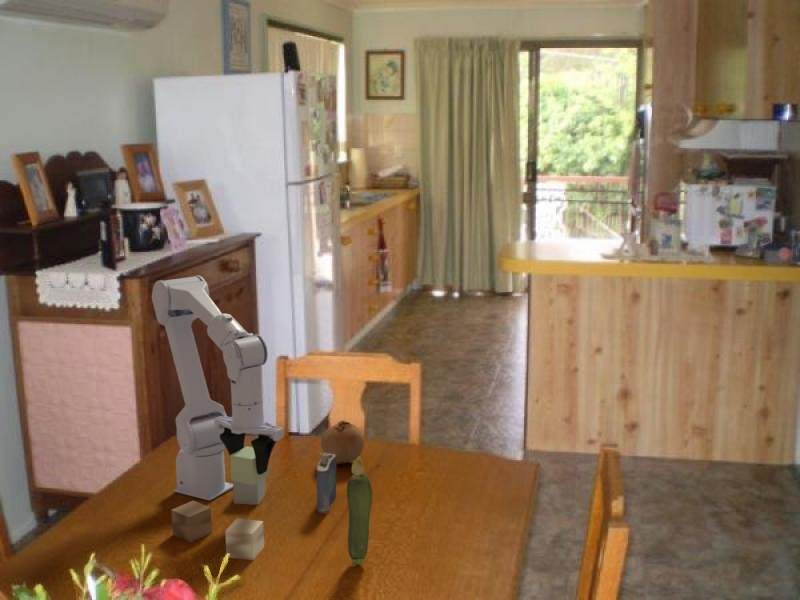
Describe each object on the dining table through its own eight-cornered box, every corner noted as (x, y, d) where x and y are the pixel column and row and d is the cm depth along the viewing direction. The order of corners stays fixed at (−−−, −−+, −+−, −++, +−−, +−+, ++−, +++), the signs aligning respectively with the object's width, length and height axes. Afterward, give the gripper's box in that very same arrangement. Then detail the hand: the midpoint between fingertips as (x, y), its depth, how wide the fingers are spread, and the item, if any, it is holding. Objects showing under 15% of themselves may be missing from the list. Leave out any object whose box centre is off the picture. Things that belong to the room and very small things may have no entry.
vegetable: (347, 557, 155) (345, 448, 151) (372, 556, 155) (371, 447, 151) (348, 570, 150) (346, 458, 146) (373, 568, 151) (372, 457, 147)
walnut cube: (173, 535, 163) (171, 509, 162) (194, 525, 167) (193, 500, 166) (190, 542, 160) (188, 517, 159) (212, 532, 164) (210, 507, 163)
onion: (363, 472, 191) (362, 428, 189) (319, 472, 191) (318, 428, 189) (365, 455, 200) (364, 413, 198) (323, 455, 201) (322, 413, 198)
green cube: (231, 480, 167) (230, 455, 166) (248, 470, 171) (246, 446, 170) (252, 485, 164) (251, 459, 163) (269, 475, 169) (268, 450, 168)
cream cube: (226, 557, 155) (225, 531, 154) (238, 544, 160) (237, 518, 159) (253, 560, 154) (252, 534, 153) (264, 547, 159) (263, 521, 158)
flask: (328, 514, 171) (326, 462, 169) (313, 514, 171) (311, 461, 169) (338, 495, 180) (337, 444, 178) (324, 494, 180) (322, 444, 178)
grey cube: (233, 503, 176) (232, 480, 175) (241, 493, 181) (240, 470, 180) (258, 505, 176) (257, 481, 175) (265, 494, 180) (264, 471, 179)
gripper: (202, 401, 165) (206, 470, 167) (265, 413, 158) (268, 484, 161) (227, 390, 171) (230, 457, 174) (289, 402, 164) (291, 471, 167)
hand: (250, 469), depth 168 cm, fingers closed on green cube, 5 cm apart
